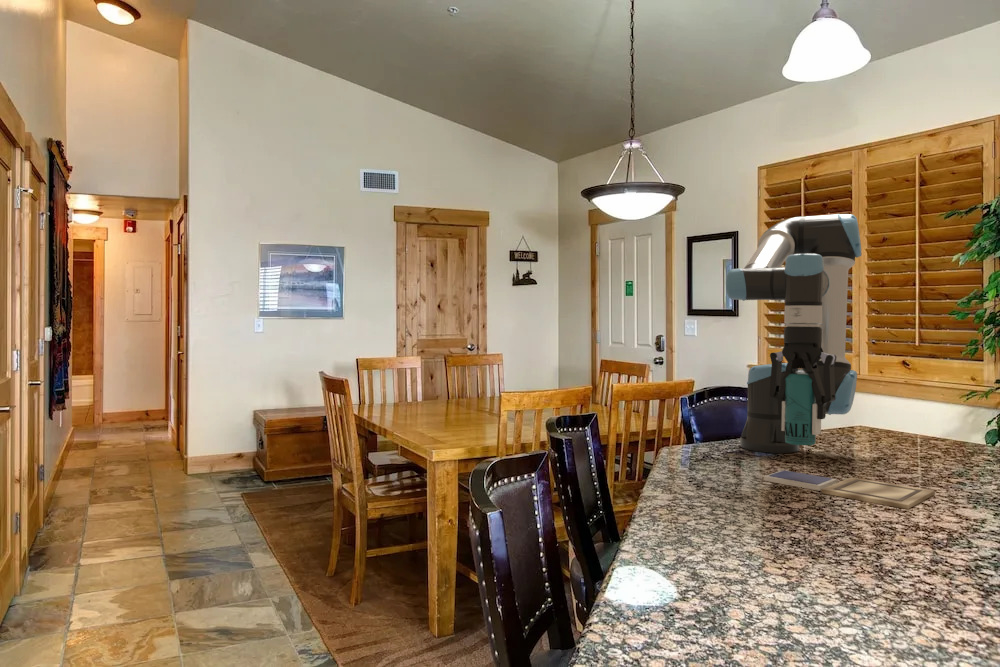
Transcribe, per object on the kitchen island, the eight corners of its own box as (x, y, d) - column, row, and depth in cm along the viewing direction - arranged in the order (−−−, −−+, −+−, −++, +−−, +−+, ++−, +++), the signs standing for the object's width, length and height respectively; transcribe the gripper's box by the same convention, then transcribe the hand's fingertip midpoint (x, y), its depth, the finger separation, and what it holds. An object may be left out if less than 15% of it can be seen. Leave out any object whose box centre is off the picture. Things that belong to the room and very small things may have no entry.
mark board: (821, 492, 143) (821, 488, 143) (851, 480, 154) (851, 476, 154) (908, 509, 131) (908, 504, 131) (934, 494, 142) (934, 490, 142)
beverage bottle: (810, 447, 155) (811, 357, 155) (821, 452, 149) (822, 358, 148) (779, 446, 156) (780, 357, 155) (789, 452, 149) (790, 358, 149)
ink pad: (763, 480, 154) (764, 475, 154) (782, 474, 160) (782, 469, 160) (819, 490, 145) (819, 485, 145) (836, 483, 151) (837, 478, 151)
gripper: (753, 325, 156) (751, 428, 156) (841, 326, 142) (839, 439, 142) (768, 325, 161) (767, 425, 161) (855, 326, 147) (853, 435, 148)
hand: (800, 431), depth 152 cm, fingers closed on beverage bottle, 6 cm apart
